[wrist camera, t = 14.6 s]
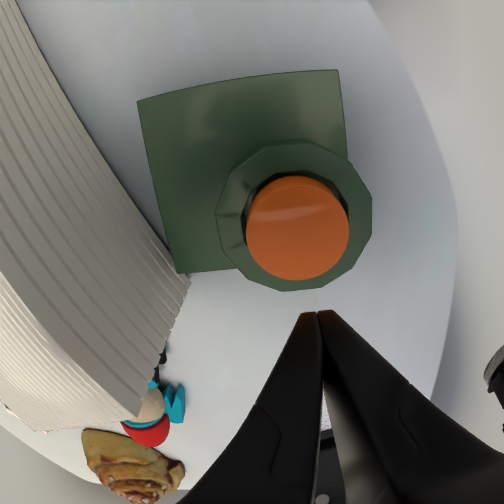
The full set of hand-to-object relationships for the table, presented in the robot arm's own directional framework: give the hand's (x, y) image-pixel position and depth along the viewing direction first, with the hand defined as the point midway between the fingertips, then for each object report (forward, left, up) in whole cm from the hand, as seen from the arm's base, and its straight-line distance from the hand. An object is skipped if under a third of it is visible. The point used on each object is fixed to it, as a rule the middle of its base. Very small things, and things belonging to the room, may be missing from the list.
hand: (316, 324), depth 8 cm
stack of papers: (+18, -8, -11) cm, 23 cm away
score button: (0, 0, -7) cm, 7 cm away
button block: (+2, -2, -11) cm, 11 cm away
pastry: (+24, +33, -11) cm, 42 cm away
